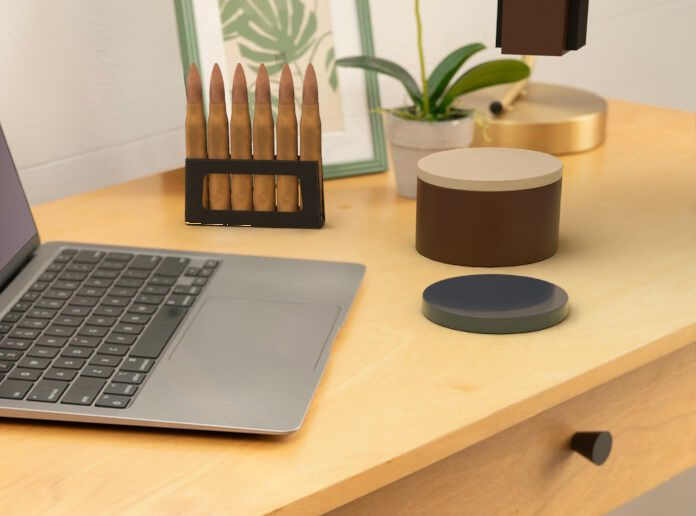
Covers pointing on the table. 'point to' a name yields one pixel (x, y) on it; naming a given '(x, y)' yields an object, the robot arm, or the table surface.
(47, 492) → the table surface
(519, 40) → the cake slice
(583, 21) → the robot arm
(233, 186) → the ammunition clip
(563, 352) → the table surface
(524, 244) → the cake
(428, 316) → the plate
